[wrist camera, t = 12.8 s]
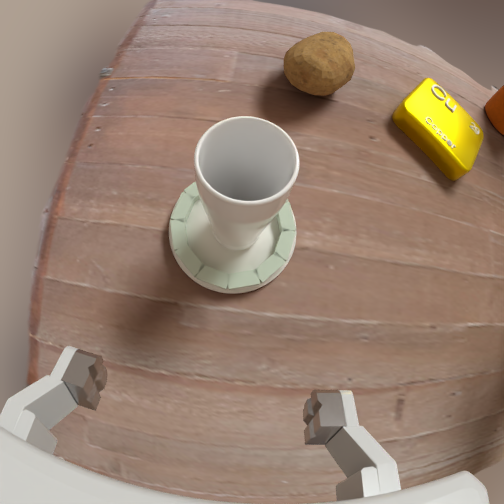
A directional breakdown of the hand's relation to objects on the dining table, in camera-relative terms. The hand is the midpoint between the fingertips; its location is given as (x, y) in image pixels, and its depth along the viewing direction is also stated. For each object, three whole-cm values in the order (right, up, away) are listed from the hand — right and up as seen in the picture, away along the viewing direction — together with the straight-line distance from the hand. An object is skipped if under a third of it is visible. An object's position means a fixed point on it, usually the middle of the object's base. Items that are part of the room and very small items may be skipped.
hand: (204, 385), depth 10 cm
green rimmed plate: (0, +7, +23) cm, 24 cm away
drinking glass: (0, +8, +22) cm, 24 cm away
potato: (+11, +31, +29) cm, 44 cm away
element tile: (+33, +26, +31) cm, 52 cm away
